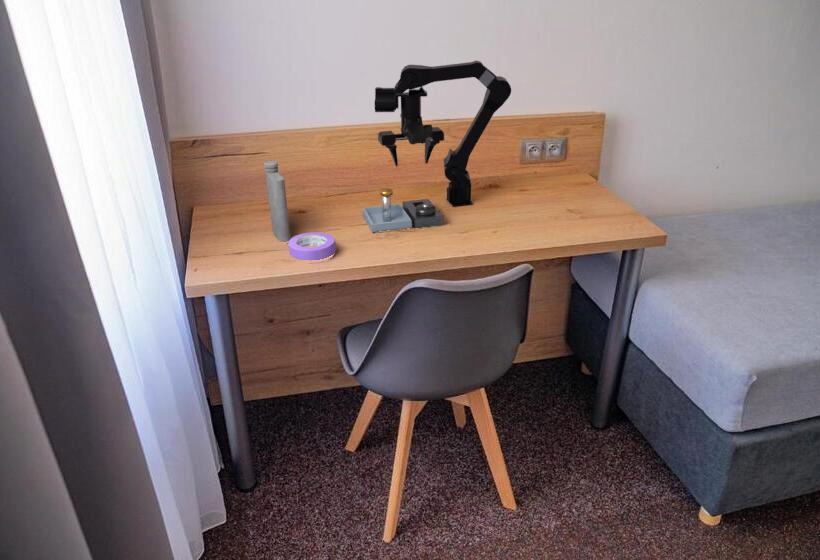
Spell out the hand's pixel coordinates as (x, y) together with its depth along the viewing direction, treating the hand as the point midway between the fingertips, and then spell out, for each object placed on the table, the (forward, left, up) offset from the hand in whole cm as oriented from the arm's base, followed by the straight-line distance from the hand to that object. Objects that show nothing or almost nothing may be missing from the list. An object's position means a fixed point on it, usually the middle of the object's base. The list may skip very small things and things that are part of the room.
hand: (411, 164), depth 187 cm
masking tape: (+34, +28, -12) cm, 46 cm away
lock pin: (+11, +13, -12) cm, 20 cm away
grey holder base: (0, +13, -12) cm, 18 cm away
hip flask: (+41, +12, -12) cm, 44 cm away
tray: (+11, +13, -12) cm, 21 cm away
